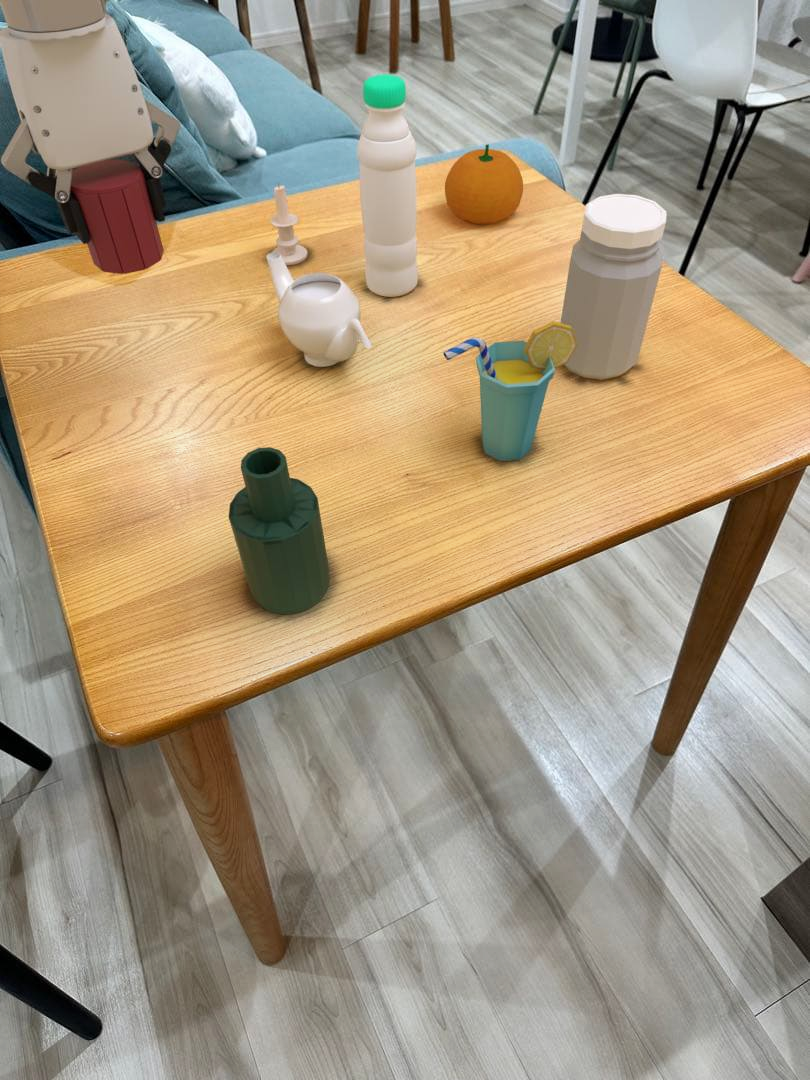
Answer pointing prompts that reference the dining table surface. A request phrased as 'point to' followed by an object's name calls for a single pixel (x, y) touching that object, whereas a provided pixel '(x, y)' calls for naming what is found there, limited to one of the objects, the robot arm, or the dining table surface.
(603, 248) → the jar
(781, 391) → the dining table surface
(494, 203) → the fruit
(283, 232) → the candle
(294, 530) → the green bottle
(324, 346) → the teapot
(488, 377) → the cup
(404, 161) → the water bottle
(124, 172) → the grooved red cylinder
